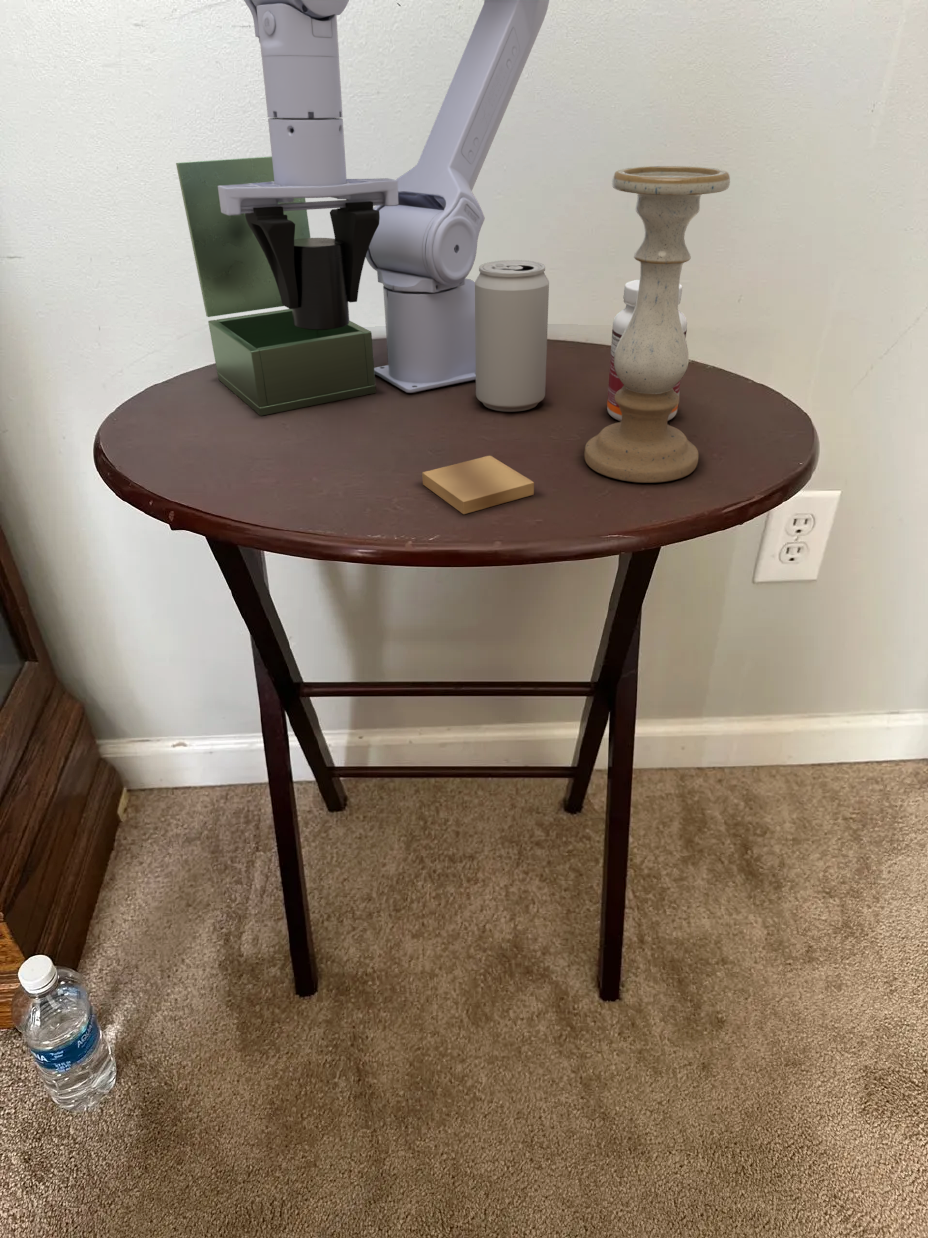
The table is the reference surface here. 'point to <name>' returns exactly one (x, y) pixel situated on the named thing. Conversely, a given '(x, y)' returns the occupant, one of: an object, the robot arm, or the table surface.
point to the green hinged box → (291, 361)
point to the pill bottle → (617, 331)
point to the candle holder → (654, 331)
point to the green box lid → (230, 236)
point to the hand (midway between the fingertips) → (320, 303)
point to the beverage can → (511, 334)
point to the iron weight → (320, 284)
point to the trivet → (477, 484)
